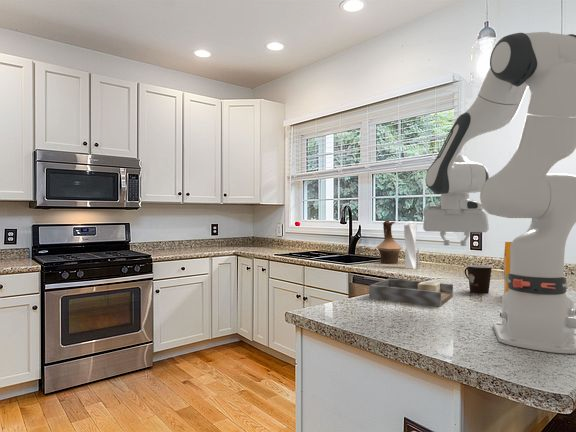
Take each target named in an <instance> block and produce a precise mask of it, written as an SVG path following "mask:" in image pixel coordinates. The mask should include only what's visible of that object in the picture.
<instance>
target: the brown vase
mask: <svg viewBox="0 0 576 432" xmlns="http://www.w3.org/2000/svg"><path fill="white" fill-rule="evenodd" d="M394 224H396V221H391V222H390V219H389V220H384V222H383V223H382V225H383V236H384V239H383V241H382V242H381V243H380V244H378V245H377V246H376V247H375V248H376V249H378V251H379V256H380V263H381V264H383V265H384V264H385V265H398V263H399V256H400V251H401V250H402V249H403V246H401V244H398V243H397V242H396V241H395V239H394V237H393V235H392V226H393V225H394Z"/></svg>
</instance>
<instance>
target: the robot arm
mask: <svg viewBox="0 0 576 432" xmlns="http://www.w3.org/2000/svg"><path fill="white" fill-rule="evenodd" d="M527 89H529V91H530V95H529V96H530V97H529V103H528V106H527V111H526V115H525V120H524V124H523V127H522V128H523V129H522V132H521V135H520V138H519V139H520V140H519V142H518V145H517V148H516V150H515V152H514V154H513V155H512V157H511V158H510V159H509V161H508V162H507V163H506V165H504V166H503V167H502V168H501V170H500V171H498V172H496V173H495V174H494V175H492V176H490V175H489V170H488V168H487V167H486V166H485V165H484V164H483V163H479V162H475V161H471V160H469V159H468V157H467V156H464V155H462V154H461V155H459V154H460V153H461V151H462V149H463V148H464V146H465V144H466V143H467V142H469V141H470V140H472V139H474V138H476V137H478V136H481V135H484V134H487V133H491V132H495V131H498V130H500V129H503V128H504V127H505V126H507V125H509V124H510V123H511V122H512V121H513V119H514V118H515V117H516V115H517V113H518V112H519V109H520V108H521V104H522V102H523V101H524V100H523V99H524V97H525V94H526V92H527ZM478 91H479V92H478V94H477V97H476V99H474V102H473V103H472V104H471V105H470V107H469V108H468V109H467V110H466V111H465V112H463V113H462V114H460V115H458V117H457V118H456V120H455V122H454V123H453V125H452V126H451V129H450V130H449V132H448V134H447V136H446V139H445V141H443V144H442V145H441V147H440V150H439V152H438V154H437V156H436V157H435V159H434V161H433V162H432V163H431V165H430V166H429V167H428V170H427V171H426V174H425V183H426V186H427V187H428V188H429V190H431V192H433V194H436V195H440V204H435V205H431V204H430V205H427V206H425V207H424V208H423V210H422V214H423V215H422V216H423V217H424V218H423V224H422V225H423V228H422V229H423V231H425V232H438V233H439V235H440V237H441V238H442V240H443V246H450V239H447V237H446V236H445V235H446V234H447V233H449V232H450V233H464V238H463V240H460V246H461V247H467V241H468V239H469V238H470V236H471V234H470V233H487V232H488V231H489V229H490V228H489V227H490V226H489V219H488V214H489V215H491V216H495V217H501V218H507V219H531V221H530V225H529V227H528V229H526V231H525V232H523V233H522V234H520V235H518V236H516V237H514V239H513V240H512V241H511V242H512V243H511V245H510V273H509V274H508V288H509V290H508V291H507V292H506V293H503V294H502V296H501V312H500V313H499V317H500V318H501V321H494V322H492V329H493V332H494V333H495V337H496V338H497V340H498V342H500V343H502V344H505V345H508V346H514V347H518V348H523V349H527V350H535V351H542V352H546V353H547V352H548V353H554V354H555V353H556V354H572V355H573V354H576V331H575V330H576V317H575V316H576V309H575V302H574V301H573V300H572V299H570V297H568V296H567V294H566V293H567V287H568V283H567V277H566V276H565V273H564V272H565V249H566V243H567V239H568V237H569V234H570V232H572V231H571V230H572V229H573V227H574V225H576V175H574V174H570V173H569V174H568V173H549V171H550V169H552V168H553V166H554V165H556V164H557V163H559V162H560V161H561V160H563V159H566V158H567V157H568V158H569V156H571V155H572V154H574V151H575V150H576V34H573V33H571V34H563V33H554V32H549V31H537V32H536V31H534V32H525V33H524V32H516V33H512V34H508V35H506V36H503V37H502V38H500V39H499V40H498V41H497V43H496V44H495V45H494V47H493V49H492V51H491V54H490V58H489V69H488V71H487V72H486V75H485V77H484V79H483V81H482V83H481V86H480V88H479V90H478ZM476 193H479V199H480V201H476V200H474V199H470V194H476Z"/></svg>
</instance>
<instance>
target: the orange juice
mask: <svg viewBox="0 0 576 432" xmlns="http://www.w3.org/2000/svg"><path fill="white" fill-rule="evenodd" d="M511 243H512V241H504V254H503V269H504V270H503V282H504V283H503V285H504V286H503V287H504V288H503V291H504V293H506V292H507V291H508V290H509V288H508V274H509V273H510V245H511ZM504 293H503V294H504Z"/></svg>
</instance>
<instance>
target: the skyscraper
mask: <svg viewBox="0 0 576 432" xmlns="http://www.w3.org/2000/svg"><path fill="white" fill-rule="evenodd" d="M403 227H404V228H403V235H404V236H403V237H404V243H405V249H404V250H405V252H404V253H405V254H404V269H405V270H419V269H420V268H421V267H420V254H419V253H420V252H419V249H416V241H417V234H418V233H417V232H418V225H417V223H416V222H415V221H413V220H408V221H407V223H403ZM416 251H417V252H416Z"/></svg>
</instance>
